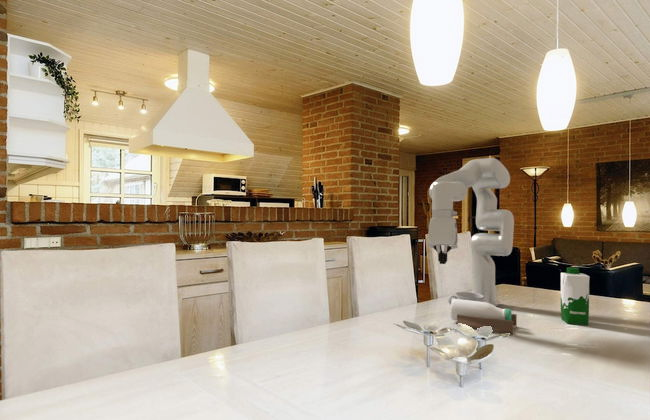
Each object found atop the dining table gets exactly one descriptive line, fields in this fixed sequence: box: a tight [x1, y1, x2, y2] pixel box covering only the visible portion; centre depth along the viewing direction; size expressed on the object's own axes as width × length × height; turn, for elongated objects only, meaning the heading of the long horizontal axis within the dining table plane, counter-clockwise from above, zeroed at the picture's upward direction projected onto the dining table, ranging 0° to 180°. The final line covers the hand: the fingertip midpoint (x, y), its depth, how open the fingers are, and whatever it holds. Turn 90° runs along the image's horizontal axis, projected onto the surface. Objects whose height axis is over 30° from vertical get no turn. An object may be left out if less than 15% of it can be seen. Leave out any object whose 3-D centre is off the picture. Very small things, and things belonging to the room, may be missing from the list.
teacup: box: [447, 291, 484, 306], centre depth 170 cm, size 14×11×8 cm
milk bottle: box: [450, 298, 513, 322], centre depth 152 cm, size 8×8×20 cm
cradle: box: [456, 313, 518, 336], centre depth 150 cm, size 12×18×4 cm
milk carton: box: [560, 266, 591, 326], centre depth 158 cm, size 9×9×20 cm
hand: (442, 263), depth 159 cm, fingers closed
